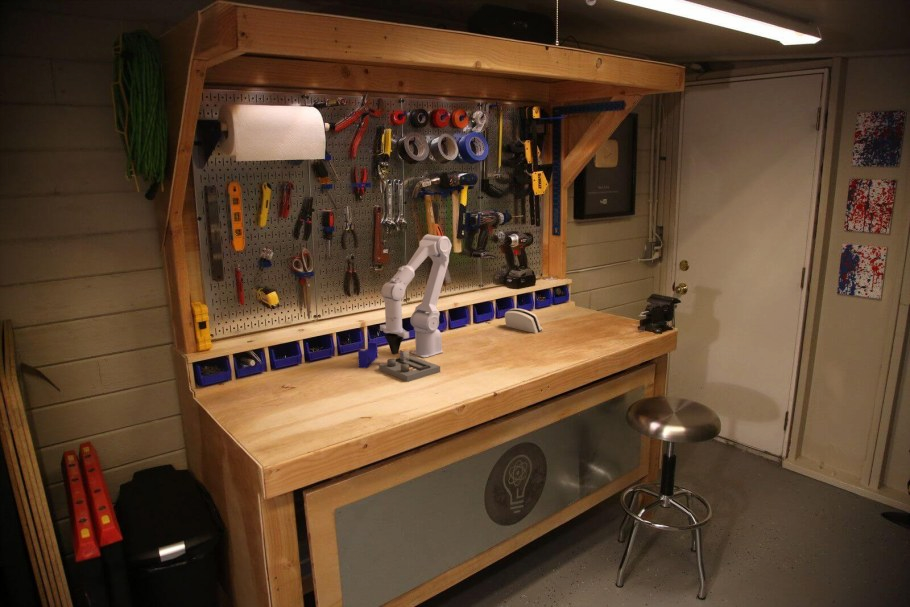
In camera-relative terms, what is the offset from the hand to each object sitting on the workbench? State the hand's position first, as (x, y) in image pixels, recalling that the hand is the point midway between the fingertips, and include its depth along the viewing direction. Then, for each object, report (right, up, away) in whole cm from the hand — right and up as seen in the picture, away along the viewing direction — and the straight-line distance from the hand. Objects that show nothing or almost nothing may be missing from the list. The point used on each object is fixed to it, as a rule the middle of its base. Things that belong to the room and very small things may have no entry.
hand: (394, 353), depth 216 cm
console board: (+6, -5, -8) cm, 11 cm away
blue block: (-10, -4, +2) cm, 11 cm away
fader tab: (+4, -2, -4) cm, 6 cm away
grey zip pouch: (+50, +7, +42) cm, 66 cm away
